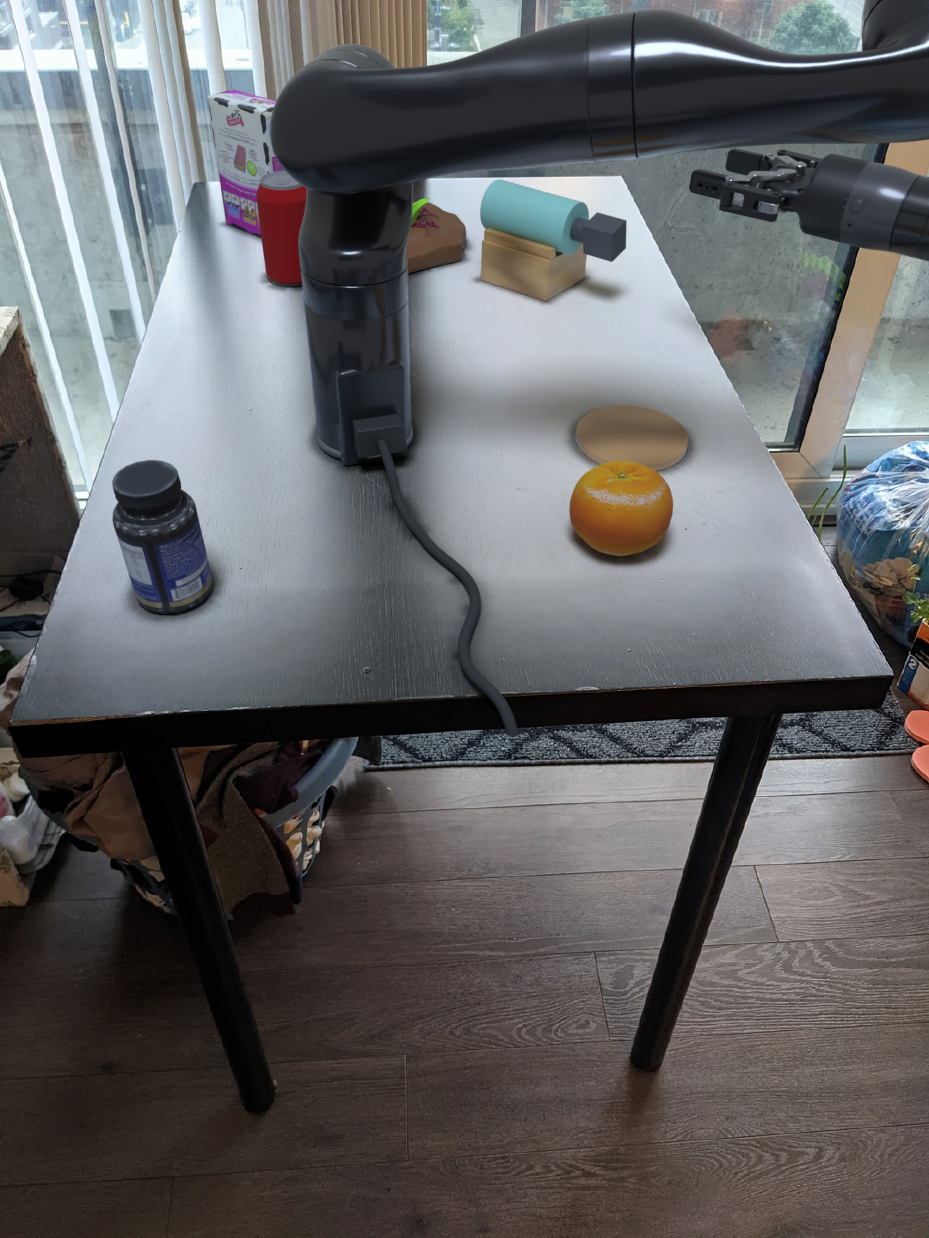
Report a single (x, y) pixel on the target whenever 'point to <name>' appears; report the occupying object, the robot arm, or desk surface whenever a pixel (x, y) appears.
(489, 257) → the cradle
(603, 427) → the coaster
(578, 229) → the teal cylinder
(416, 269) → the plant
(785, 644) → the desk surface
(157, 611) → the pill bottle
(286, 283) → the beverage can
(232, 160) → the candy bar box
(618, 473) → the fruit
